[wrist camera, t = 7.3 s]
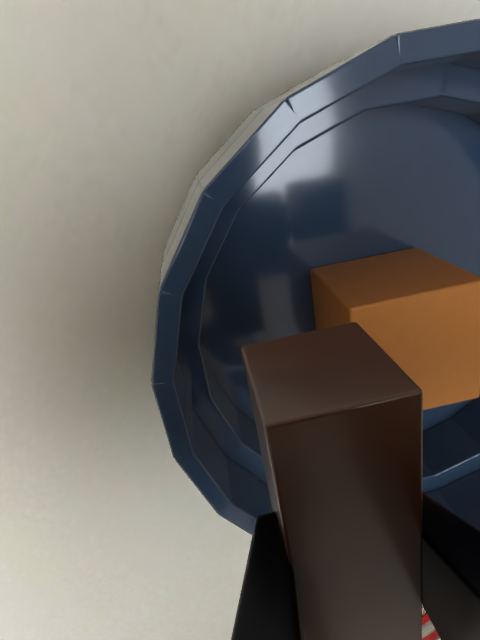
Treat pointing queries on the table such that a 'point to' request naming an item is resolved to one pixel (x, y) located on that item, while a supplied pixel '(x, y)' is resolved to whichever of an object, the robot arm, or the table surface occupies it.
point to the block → (410, 316)
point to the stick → (343, 478)
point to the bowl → (318, 247)
